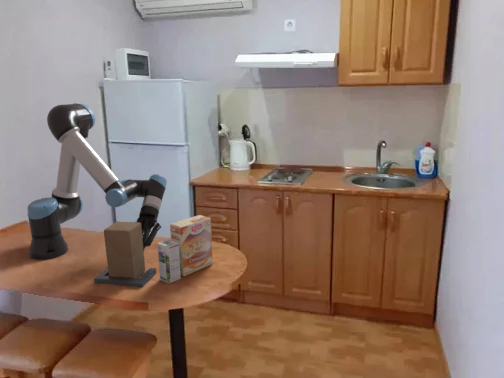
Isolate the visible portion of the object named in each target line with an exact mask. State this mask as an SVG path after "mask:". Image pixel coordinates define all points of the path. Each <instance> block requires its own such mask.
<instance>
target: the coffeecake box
mask: <svg viewBox="0 0 504 378" xmlns="http://www.w3.org/2000/svg"><path fill="white" fill-rule="evenodd" d="M211 221H212V219H211V217H209V216H206V215H201V214H198V215H195V216H191V217H189V218H185V219H182V220H179V221H175V222H172V223H170V224H169V229H170V230H169V232H170V240H172V241H175V242H178V243H179V257H180V274H181V276H182V277H185V276H188V275H190V274H192V273H196V272H197V271H199V270H201V269H204V268H206V267H208V266H209V267H210V266H211V265H213V242H212V239H213V238H212V237H213V236H212V222H211Z"/></svg>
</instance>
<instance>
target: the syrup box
mask: <svg viewBox="0 0 504 378" xmlns="http://www.w3.org/2000/svg"><path fill="white" fill-rule="evenodd" d="M157 255H158V266H159V267H158V269H159V271H158V272H159V280H160V281H162V282H164V283H166V284H168V285H169V284H172V283H174V282H177V281H179V280H180V279H182V277H181V276H182V275H181V274H180V257H179V243H178V242H175V241H172V240H171V238H170V239H165V240H162V241H160V242H157Z"/></svg>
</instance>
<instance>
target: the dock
mask: <svg viewBox="0 0 504 378" xmlns="http://www.w3.org/2000/svg"><path fill="white" fill-rule="evenodd" d="M156 274H157V269H156V268H154V267H149V268H148V269H147V270H145V272H144V273H143V274H142V275H141V276H140V277H139V278H127V277H114V276H109V273H108V267H107V268H105V269H104V270H102V271H101V272H100V273H99V274H98V275H96V276H95V277H94V278H93V280H94V281H93V282H94V284H99V285H109V286H110V285H112V286H126V287H137V288H144V287H145V285H146V284H147V283H148V282H149V281H150V280H151V279H152V278H153V277H154V276H155V275H156Z"/></svg>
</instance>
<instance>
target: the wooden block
mask: <svg viewBox="0 0 504 378" xmlns="http://www.w3.org/2000/svg"><path fill="white" fill-rule="evenodd" d="M103 237H104V245H105V246H104V247H105V256H106V262H107V268H108V273H109V276H114V277H127V278H140V277H141V276H142V275H143V274H144V273H145V272H146V264H145V254H144V253H145V250H144V251H143V240H142V238H143V237H142V229H141V223H139V222H136V221H134V222H133V221H116V222H114V223H113V224H111V225H109V226H108V227H106V228H104V230H103Z"/></svg>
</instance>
